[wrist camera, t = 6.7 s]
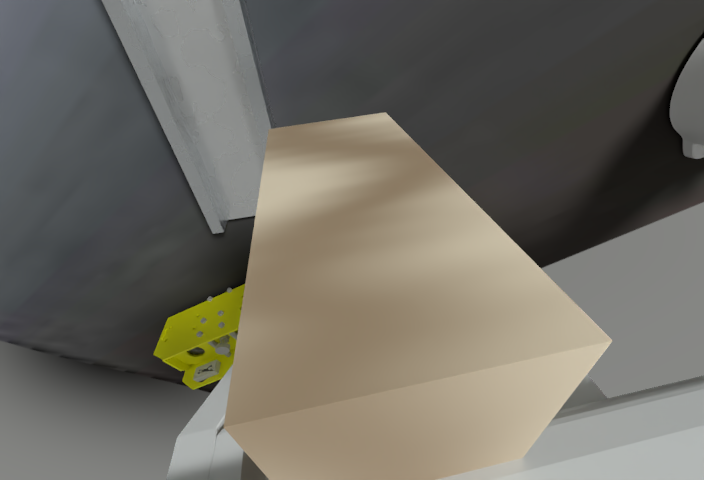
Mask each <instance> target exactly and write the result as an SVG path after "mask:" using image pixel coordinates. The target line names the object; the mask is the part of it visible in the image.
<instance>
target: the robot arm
mask: <svg viewBox="0 0 704 480" xmlns="http://www.w3.org/2000/svg"><path fill="white" fill-rule="evenodd" d="M670 120H671V123H672V126H673V128H674V129H675V130H676V131H677V132H678V133H679V134H680V135H681V137H682V139H683V154H684V155H685V156H686V157H690V158H694V159H700V158H703V157H704V38H703V40H702V41H701V42H700V44H699V45H698V46H697V48H696V49H695V51H694V52H693V54H692V55H691V57H690V58H689V60H688V62H687V63H686V65H685V67H684V69H683V70H682V72H681V74H680V76H679V79H678V81H677V83H676V86H675V88H674V91H673V94H672V98H671V103H670ZM232 368H233V364H232V366H231V367H230V368H229V370H228V371H227V372H226V374H225V375H224V376H223V378H222V379H221V380H220V382H219V383H218V384H217V386H216V387H215V388H214V390H213V391H212V392H211V393H210V395H209V396H208V398H207V399H206V400H205V402H204V403H203V404H202V405H201V407H200V408H199V409H198V411H197V412H196V413H195V415H194V416H193V417H192V419H191V420H190V421H189V423H188V424H187V425H186V427H185V428H184V429H183V430H182V432H181V433H180V435H179V436H178V437H177V441H176V444H175V448H174V452H173V457H172V460H171V464H170V468H169V471H168V476H167V480H269V479H268V478H267V477H266V475H265V474H264V473H263V472H262V471H261V470H260V469H259V467H258V466H257V465H256V464H255V463H254V462H253V461H252V459H251V458H250V457H249V456H248V455H247V454H246V453H245V451H244V450H243V449H242V448H241V447H240V446H239V445H238V443H237V442H236V441H235V440H234V439H233V438H232V437H231V435H230V434H229V433H228V432H227V431H226V430H225V429H224V420H225V414H226V407H227V401H228V394H229V388H230V381H231V374H232ZM437 480H704V376H699V377H695V378H691V379H687V380H683V381H679V382H674V383H670V384H666V385H662V386H658V387H654V388H650V389H646V390H641V391H637V392H633V393H629V394H624V395H620V396H616V397H612V398H607V397H606V396H605V395H604V394H603V392H602V391H601V390H600V389H599V388H598V386H597V385H596V384H595V383H594V382H593V380H592V379H591V378H590V377H589V376H588V374H587V375H586V376H585V377H584V379H583V380H582V381H581V383H580V384H579V385H578V387H577V388H576V389H575V390H574V392H573V393H572V394H571V396H570V397H569V398H568V400H567V401H566V402H565V403H564V405H563V406H562V407H561V409H560V410H559V411H558V413H557V414H556V415H555V417H554V418H553V419H552V420H551V422H550V423H549V424H548V426H547V427H546V428H545V430H544V431H543V432H542V433H541V435H540V436H539V437H538V439H537V440H536V441H535V443H534V444H533V445H532V447H531V448H530V449H529V450H528V452H527V453H526V454H525V456H524V457H523V458H521V459H517V460H513V461H509V462H505V463H501V464H497V465H493V466H489V467H485V468H481V469H477V470H473V471H469V472H465V473H461V474H457V475H453V476H449V477H445V478H441V479H437Z"/></svg>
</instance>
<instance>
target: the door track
mask: <svg viewBox="0 0 704 480" xmlns="http://www.w3.org/2000/svg"><path fill="white" fill-rule="evenodd" d="M102 2H103V4H104V6H105V8H106V10H107V12H108V15H109V17H110V19H111V21H112V23H113V25H114V27H115V29H116V31H117V33H118V36H119V38H120V40H121V42H122V44H123V46H124V48H125V50H126V52H127V54H128V57H129V59H130V61H131V63H132V65H133V67H134V69H135V71H136V73H137V75H138V78H139V80H140V82H141V84H142V86H143V88H144V90H145V92H146V94H147V96H148V99H149V101H150V103H151V105H152V107H153V109H154V111H155V113H156V115H157V117H158V120H159V122H160V124H161V126H162V128H163V130H164V132H165V134H166V136H167V138H168V141H169V143H170V145H171V147H172V149H173V151H174V153H175V155H176V157H177V160H178V162H179V164H180V166H181V168H182V170H183V172H184V174H185V176H186V178H187V181H188V183H189V185H190V187H191V189H192V191H193V193H194V195H195V197H196V199H197V202H198V204H199V206H200V208H201V210H202V212H203V214H204V216H205V218H206V220H207V223H208V225H209V227H210V229H211V231H212V233H213V234H215V233H222V232H224V230H225V227H226V224H227V221H228V220H231V219H237V218H244V217H250V216H256V210H257V203H258V196H259V190H260V183H261V177H262V170H263V163H264V157H265V150H266V144H267V137H268V131H269V129H274V128H276V125H275V121H274V117H273V113H272V108H271V104H270V100H269V96H268V92H267V88H266V84H265V79H264V75H263V71H262V67H261V63H260V59H259V55H258V50H257V46H256V42H255V38H254V34H253V30H252V26H251V21H250V17H249V13H248V9H247V5H246V1H245V0H102Z"/></svg>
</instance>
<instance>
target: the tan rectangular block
mask: <svg viewBox="0 0 704 480" xmlns="http://www.w3.org/2000/svg"><path fill="white" fill-rule="evenodd" d="M611 342H612V340H611V339H610V338H609V337H608V336H607V335H606V334H605V333H604V332H603V331H602V330H601V329H600V327H598V326H597V324H596V323H595V322H593V321H592V320H591V318H590V317H589V316H588V315H587V314H586V313H584V312H583V310H582V309H581V308H579V306H577V304H576V303H574V301H573V300H572V299H571V298H570V297H569V296H568V295H567V294H566V293H564V291H563V290H562V289H561V288H560V287H559V286H557V284H556V283H555V282H554V281H552V279H551V278H550V277H549V276H548V275H547V274H546V273H545V272H544V271H543V270H542V269H541V268H540V267H539V266H538V265H537V264H536V263H535V262H534V261H533V260H532V259H531V258H530V257H529V256H528V255H527V254H526V253H525V252H524V251H523V250H522V249H521V248H520V247H519V246H518V245H517V244H516V243H515V242H514V241H513V240H512V239H511V238H510V237H509V236H508V235H507V234H506V233H505V232H504V231H503V230H502V229H501V228H500V227H499V226H498V225H497V224H496V223H495V222H494V221H493V220H492V219H491V218H490V217H489V216H488V215H487V214H486V213H485V212H484V211H483V210H482V209H481V208H480V207H479V206H478V205H477V204H476V203H475V202H474V201H473V200H472V199H471V198H470V197H469V196H468V195H467V194H466V193H465V192H464V191H463V190H462V189H461V188H460V187H459V186H458V185H457V184H456V183H455V182H454V181H453V180H452V179H451V178H450V177H449V176H448V175H447V174H446V173H445V172H444V171H443V170H442V169H441V168H440V167H439V166H438V165H437V164H436V163H435V162H434V161H433V160H432V159H431V158H430V157H429V156H428V155H427V154H426V153H425V152H424V151H423V150H422V149H421V148H420V147H419V146H418V145H417V144H416V143H415V142H414V141H413V140H412V139H411V138H410V137H409V136H408V135H407V134H406V133H405V131H404V130H403V129H402V128H401V127H400V126H399V125H398V124H397V123H396V122H395V121H394V120H393V119H392V118H391V117H390V116H389V115H388V114H387V113H386V112H385V113H378V114H371V115H364V116H357V117H350V118H343V119H337V120H330V121H323V122H316V123H309V124H302V125H295V126H288V127H281V128H274V129H269V131H268V137H267V144H266V150H265V157H264V163H263V170H262V177H261V183H260V190H259V196H258V203H257V210H256V216H255V223H254V229H253V236H252V243H251V249H250V256H249V262H248V269H247V276H246V282H245V289H244V295H243V302H242V308H241V315H240V322H239V328H238V335H237V341H236V348H235V355H234V361H233V368H232V374H231V381H230V388H229V394H228V401H227V407H226V414H225V420H224V429H225V430H226V431H227V432H228V433H229V434H230V435H231V437H232V438H233V439H234V440H235V441H236V442H237V443H238V445H239V446H240V447H241V448H242V449H243V450H244V451H245V453H246V454H247V455H248V456H249V457H250V458H251V459H252V461H253V462H254V463H255V464H256V465H257V466H258V467H259V469H260V470H261V471H262V472H263V473H264V474H265V475H266V477H267V478H268V479H269V480H437V479H441V478H445V477H449V476H453V475H457V474H461V473H465V472H469V471H473V470H477V469H481V468H485V467H489V466H493V465H497V464H501V463H505V462H509V461H513V460H517V459H521V458H523V457H524V456H525V454H526V453H527V452H528V450H529V449H530V448H531V447H532V445H533V444H534V443H535V441H536V440H537V439H538V437H539V436H540V435H541V433H542V432H543V431H544V430H545V428H546V427H547V426H548V424H549V423H550V422H551V420H552V419H553V418H554V417H555V415H556V414H557V413H558V411H559V410H560V409H561V407H562V406H563V405H564V403H565V402H566V401H567V400H568V398H569V397H570V396H571V394H572V393H573V392H574V390H575V389H576V388H577V387H578V385H579V384H580V383H581V381H582V380H583V379H584V377H585V376H586V375H587V373H588V372H589V371H590V370H591V368H592V367H593V366H594V364H595V363H596V362H597V360H598V359H599V358H600V357H601V355H602V354H603V353H604V351H605V350H606V349H607V347H608V346H609V345H610V343H611Z"/></svg>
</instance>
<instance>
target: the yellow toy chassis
mask: <svg viewBox="0 0 704 480" xmlns="http://www.w3.org/2000/svg"><path fill="white" fill-rule="evenodd" d="M244 289H245V284H243V285H241V286H239V287H237V288H234V289H231V288H228V289H227V292H225V293H223V294H221V295H219V296H216V297H214V298H212V297H211V296H209V297H208V298H207V301H205V302H203V303H200V304H198V305H196V306H194V307H191V308H189V309H187V310H185V311H182V312H180V313H178V314H176V315H173V316H171V317H169V318H168V319H167V321H166V324H165V326H164V329H163V331H162V334H161V336H160V339H159V341H158V344H157V346H156V349H155V351H154V354H153V355H155V356H157V357H158V358H160V359H162V361H163V362H165V363H167V364H169V365H170V366H172V367H174V368H176V369H178V370H179V371H184V370H185V373H184V377H183V380H182V382H183V383H185V384H186V385H187V386H189V387H190V388H191V389H193V390H194V389H197V388H199V387H202V386H205V385H207V384H210V383H212V382H215V381H217V380H220V379H222V378H223V376H224V375H225V374H226V372H227V371H228V370H229V368H230V367H231V366H232V364H233V361H234V355H235V348H236V341H237V335H238V328H239V322H240V315H241V308H242V302H243V295H244ZM209 370H210V371H209ZM204 379H206V380H205V381H203V382H199V381H202V380H204Z"/></svg>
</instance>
